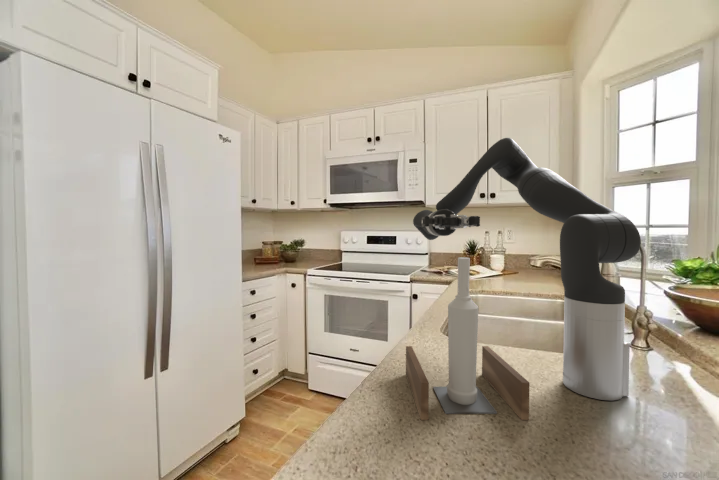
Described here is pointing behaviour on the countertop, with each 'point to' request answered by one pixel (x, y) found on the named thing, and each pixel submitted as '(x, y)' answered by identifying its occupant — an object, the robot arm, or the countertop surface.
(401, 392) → the countertop surface
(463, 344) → the bottle
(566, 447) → the countertop surface
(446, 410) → the arena
